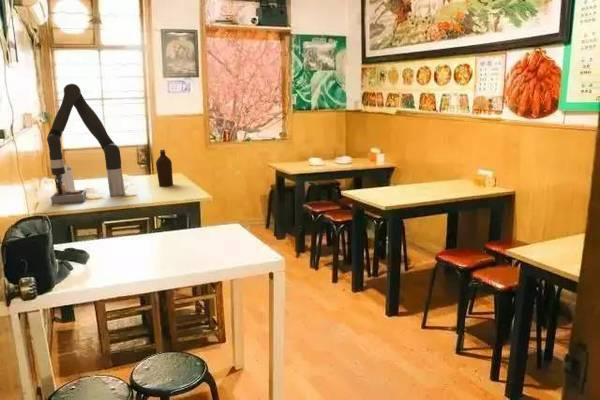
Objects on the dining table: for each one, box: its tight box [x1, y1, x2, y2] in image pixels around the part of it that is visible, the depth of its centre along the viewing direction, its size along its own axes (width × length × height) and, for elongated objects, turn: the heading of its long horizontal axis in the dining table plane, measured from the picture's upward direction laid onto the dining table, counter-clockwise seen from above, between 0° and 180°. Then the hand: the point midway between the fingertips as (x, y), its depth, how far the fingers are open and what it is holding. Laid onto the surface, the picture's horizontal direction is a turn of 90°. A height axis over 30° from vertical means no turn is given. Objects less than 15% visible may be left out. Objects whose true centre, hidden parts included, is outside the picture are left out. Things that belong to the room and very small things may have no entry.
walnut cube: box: [70, 189, 81, 195], centre depth 309 cm, size 5×5×5 cm
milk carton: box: [62, 164, 76, 191], centre depth 332 cm, size 7×7×19 cm
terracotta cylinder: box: [55, 183, 66, 196], centre depth 306 cm, size 5×5×7 cm
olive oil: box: [155, 149, 174, 188], centre depth 341 cm, size 11×11×25 cm
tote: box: [50, 189, 87, 205], centre depth 308 cm, size 18×14×5 cm
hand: (61, 193), depth 306 cm, fingers closed on terracotta cylinder, 5 cm apart
